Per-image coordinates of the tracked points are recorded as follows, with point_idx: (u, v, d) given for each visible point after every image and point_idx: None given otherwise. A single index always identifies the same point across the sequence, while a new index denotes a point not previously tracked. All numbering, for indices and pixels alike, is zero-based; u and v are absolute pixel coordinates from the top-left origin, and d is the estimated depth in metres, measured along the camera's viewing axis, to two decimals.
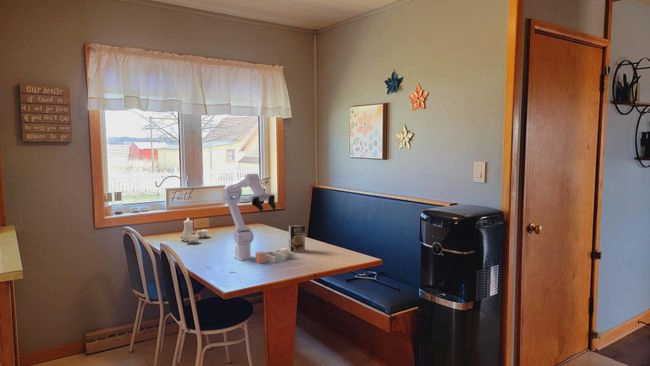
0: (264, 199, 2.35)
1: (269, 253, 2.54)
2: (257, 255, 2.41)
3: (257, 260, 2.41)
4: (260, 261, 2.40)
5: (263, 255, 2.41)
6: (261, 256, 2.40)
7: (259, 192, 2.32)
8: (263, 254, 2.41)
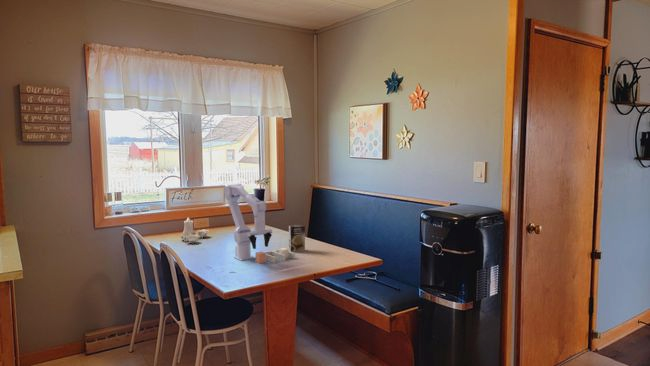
0: None
1: (269, 253, 2.54)
2: (257, 255, 2.41)
3: (257, 260, 2.41)
4: (260, 261, 2.40)
5: (263, 255, 2.41)
6: (261, 256, 2.40)
7: (259, 230, 2.38)
8: (263, 254, 2.41)
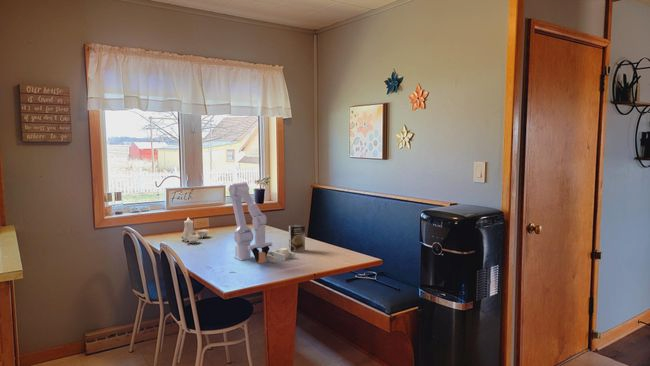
0: None
1: (269, 253, 2.54)
2: None
3: None
4: (260, 261, 2.40)
5: (263, 255, 2.41)
6: (261, 256, 2.40)
7: (259, 243, 2.39)
8: (263, 254, 2.41)
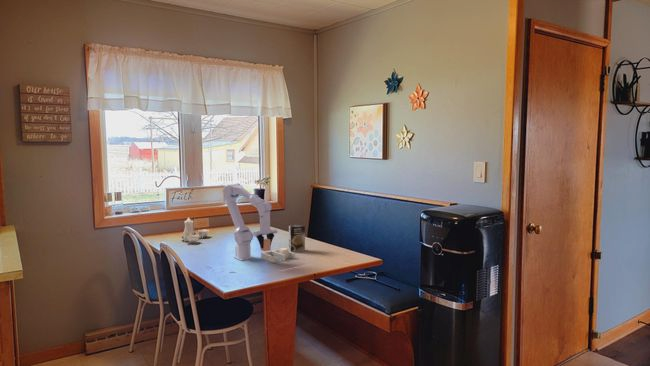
0: None
1: (269, 253, 2.54)
2: None
3: None
4: (265, 248, 2.41)
5: (268, 242, 2.42)
6: (266, 243, 2.42)
7: (264, 230, 2.40)
8: (268, 241, 2.42)
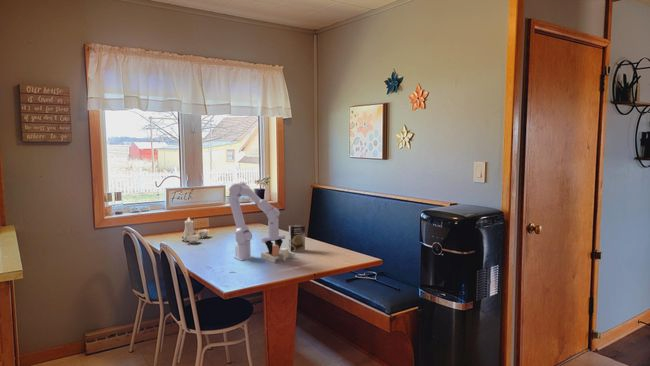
0: None
1: None
2: None
3: None
4: (274, 254, 2.45)
5: (277, 248, 2.46)
6: (275, 249, 2.46)
7: (273, 236, 2.44)
8: (277, 247, 2.46)
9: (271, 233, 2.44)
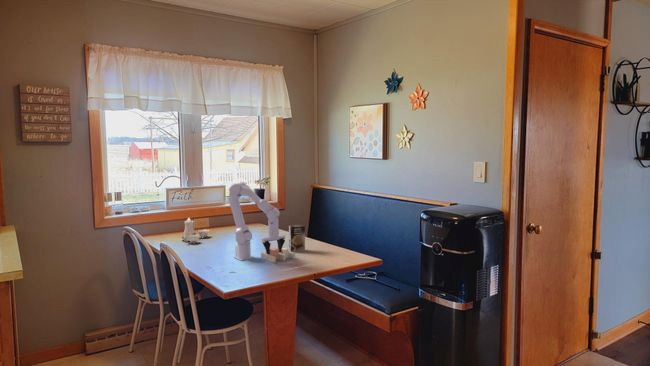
0: None
1: None
2: (271, 251, 2.46)
3: None
4: None
5: (277, 251, 2.46)
6: (275, 252, 2.46)
7: (273, 236, 2.44)
8: (277, 250, 2.46)
9: (271, 233, 2.44)
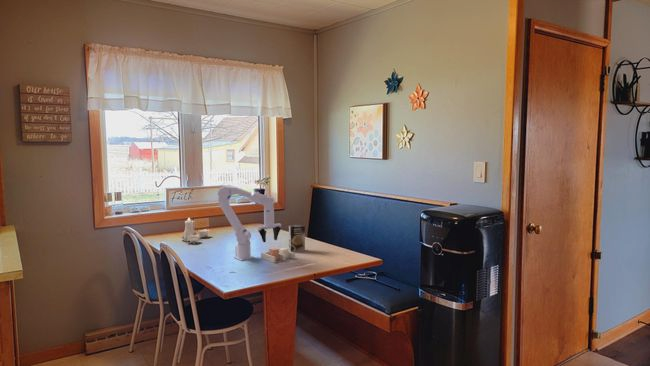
0: None
1: None
2: (271, 251, 2.46)
3: None
4: None
5: (277, 251, 2.46)
6: (275, 252, 2.46)
7: (269, 224, 2.48)
8: (277, 250, 2.46)
9: (267, 221, 2.48)
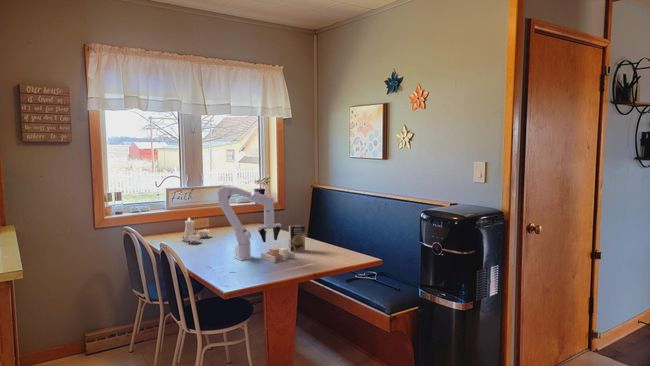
0: None
1: None
2: (271, 251, 2.46)
3: None
4: None
5: (277, 251, 2.46)
6: (275, 252, 2.46)
7: (269, 224, 2.48)
8: (277, 250, 2.46)
9: (267, 221, 2.48)
